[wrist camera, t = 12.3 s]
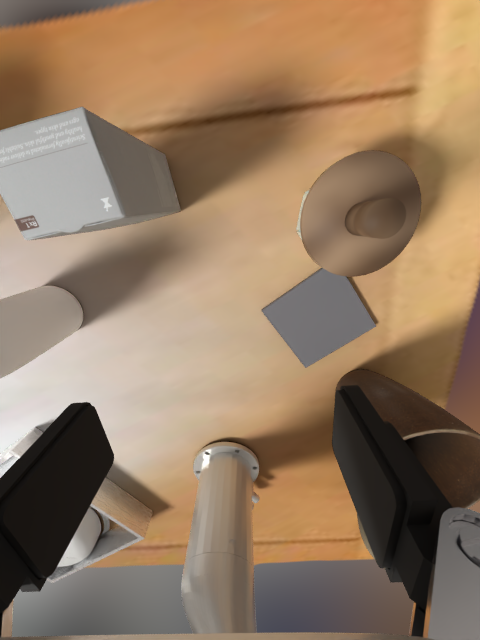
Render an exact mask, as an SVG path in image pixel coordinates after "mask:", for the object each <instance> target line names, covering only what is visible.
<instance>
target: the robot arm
mask: <svg viewBox="0 0 480 640" xmlns="http://www.w3.org/2000/svg"><path fill="white" fill-rule="evenodd" d="M332 446H333V451H334V454H335V457H336V459H337V462H338V464H339V467H340V470H341V472H342V475H343V477H344V480H345V483H346V485H347V488H348V490H349V493H350V495H351V498H352V501H353V503H354V506H355V508H356V511H357V514H358V516H359V519H360V521H361V524H362V527H363V529H364V532H365V534H366V537H367V539H368V542H369V545H370V547H371V550H372V552H373V555H374V558H375V560H376V562H377V564H378V565H379V567H380V568H385V570H386V572H387V575H388V577H389V579H390V581H391V582H403V584H404V586H405V588H406V591H407V593H408V595H409V598H410V599H411V600H413V601H414V605H413V612H412V618H411V625H410V631H409V636H404V635H393V634H378V633H377V634H375V633H257V631H256V616H255V595H254V562H253V525H252V510H253V507H254V505H253V502H254V503H257V502H258V501H259V496H258V495H257V494H256V493H255V492H253V482H254V481H255V480H256V478H257V476H258V473H259V462H258V459H257V457H256V456H255V454H254V453H253V452H252V451H251V450H250V449H248V448H247V447H245V446H243V445H240V444H237V443H232V442H218V443H213V444H210V445H208V446H206V447H204V448H203V449H202V450H200V451H199V452H198V454H197V455H196V457H195V460H194V464H193V470H194V474H195V476H196V477H197V479H198V480H199V484H198V490H197V495H196V501H195V507H194V513H193V519H192V524H191V530H190V536H189V542H188V547H187V553H186V559H185V565H184V571H183V576H182V585H181V586H182V587H181V589H182V590H181V593H182V602H183V607H184V610H185V613H186V616H187V619H188V621H189V624H190V626H191V629H192V631H193V634H145V635H90V636H89V635H86V636H85V635H84V636H45V637H44V636H41V637H12V618H13V599H14V597H15V596H16V594H17V592H18V591H19V589H21V591H22V592H32V591H40V590H41V588H42V587H43V585H44V583H45V581H46V579H47V578H48V577H49V576H51V575H52V574H53V572H54V571H55V569H56V568H57V566H58V564H59V562H60V560H61V559H62V557H63V555H64V553H65V551H66V549H67V547H68V546H69V544H70V542H71V540H72V538H73V536H74V534H75V533H76V531H77V529H78V527H79V525H80V523H81V521H82V520H83V518H84V516H85V514H86V512H87V510H88V508H89V507H90V505H91V503H92V501H93V499H94V497H95V496H96V494H97V492H98V490H99V488H100V486H101V484H102V483H103V481H104V479H105V477H106V475H107V473H108V471H109V470H110V468H111V466H112V464H113V461H114V454H113V451H112V449H111V446H110V444H109V441H108V439H107V436H106V434H105V431H104V429H103V426H102V424H101V421H100V419H99V416H98V414H97V411H96V409H95V407H94V406H92V405H91V404H90V403H88V402H84V403H73V404H71V405H69V406H68V407H67V408H66V409H65V410H64V411H63V412H62V414H61V415H60V416H59V417H58V418H57V419H56V420H55V421H54V422H53V423H52V424H51V425H50V426H49V427H48V428H47V429H46V430H45V432H44V433H43V434H42V435H41V436H40V437H39V438H38V439H37V440H36V441H35V442H34V443H33V444H32V445H31V446H30V447H29V448H28V450H27V451H26V452H25V453H24V454H23V455H22V456H21V457H20V458H19V459H18V460H17V461H16V462H15V463H14V464H13V465H12V466H11V468H10V469H9V470H8V471H7V472H6V473H5V474H4V475H3V476H2V477H1V478H0V640H480V513H477V512H475V511H472V510H470V509H465V508H459V507H456V508H453V507H452V505H451V504H450V503H449V501H448V500H447V499H446V497H445V496H444V494H443V493H442V492H441V490H440V489H439V488H438V486H437V485H436V483H435V482H434V481H433V479H432V478H431V477H430V475H429V474H428V472H427V471H426V470H425V468H424V467H423V466H422V464H421V463H420V461H419V460H418V459H417V457H416V456H415V455H414V453H413V452H412V450H411V449H410V448H409V446H408V445H407V444H406V442H405V441H404V439H403V438H402V437H401V435H400V434H399V433H398V431H397V430H396V428H395V427H394V426H393V425H392V424H391V423H390V422H388V421H383V420H382V418H381V417H380V415H379V414H378V413H377V411H376V410H375V408H374V407H373V405H372V404H371V403H370V401H369V400H368V398H367V397H366V395H365V394H364V392H363V391H362V390H361V388H360V387H359V386H358V385H346V386H341V388H340V390H336V393H335V408H334V422H333V437H332ZM252 501H253V502H252Z"/></svg>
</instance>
